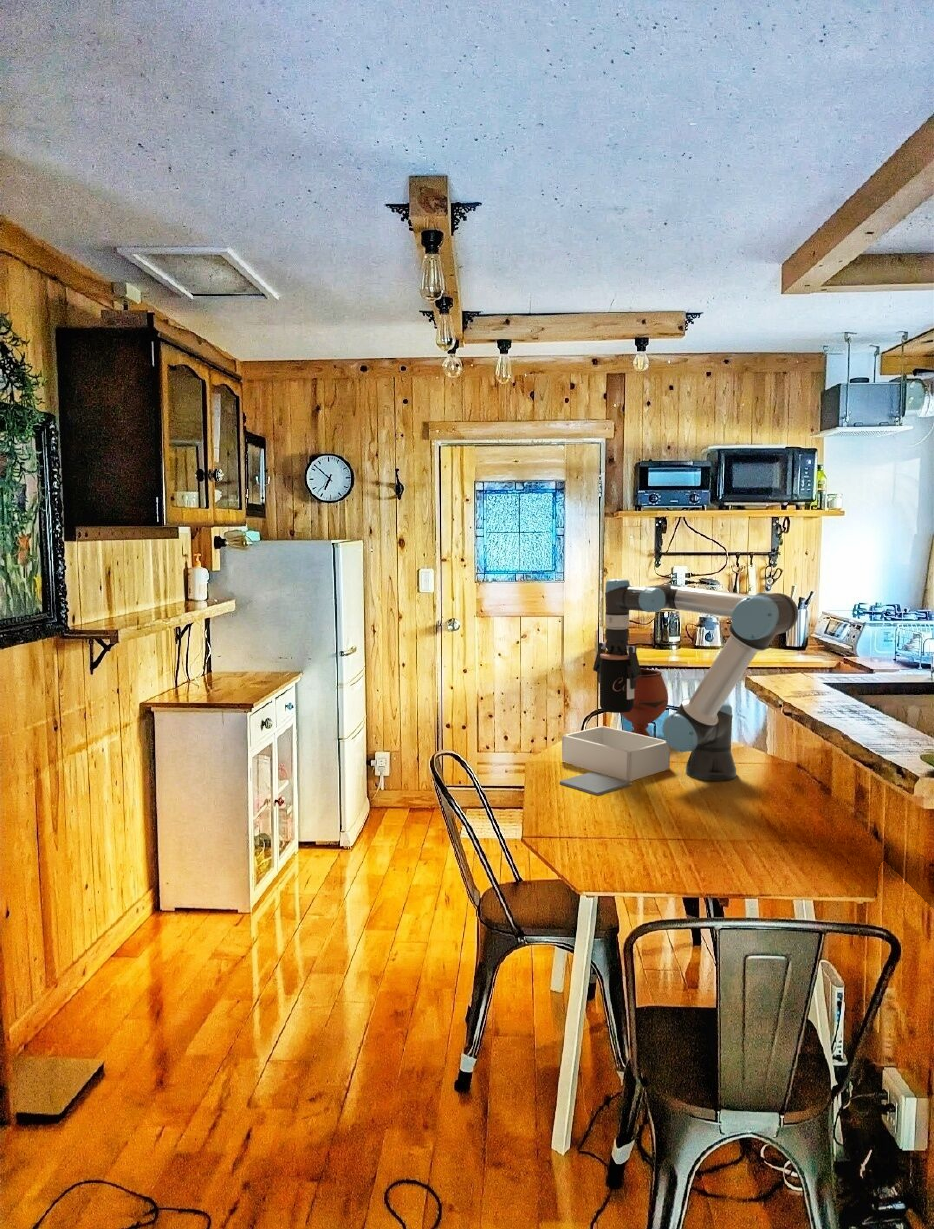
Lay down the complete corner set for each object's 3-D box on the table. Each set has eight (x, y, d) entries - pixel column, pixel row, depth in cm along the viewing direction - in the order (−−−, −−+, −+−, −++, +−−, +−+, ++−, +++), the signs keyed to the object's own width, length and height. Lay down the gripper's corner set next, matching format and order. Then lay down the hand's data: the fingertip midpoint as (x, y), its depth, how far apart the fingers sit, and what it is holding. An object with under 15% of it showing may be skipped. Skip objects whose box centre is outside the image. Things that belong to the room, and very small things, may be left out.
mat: (630, 785, 264) (630, 782, 263) (597, 795, 254) (597, 792, 254) (592, 774, 275) (592, 771, 275) (559, 783, 265) (559, 781, 265)
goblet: (676, 744, 310) (678, 674, 307) (625, 747, 306) (626, 677, 303) (653, 731, 329) (654, 665, 326) (605, 734, 325) (606, 667, 322)
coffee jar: (613, 714, 275) (613, 657, 273) (593, 708, 284) (593, 653, 282) (640, 711, 280) (640, 655, 278) (619, 705, 289) (620, 650, 287)
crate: (669, 769, 280) (670, 741, 279) (629, 781, 267) (629, 752, 266) (602, 751, 301) (602, 725, 300) (561, 762, 288) (562, 735, 287)
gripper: (581, 625, 285) (581, 692, 288) (638, 632, 268) (637, 703, 270) (597, 623, 290) (597, 689, 292) (653, 629, 273) (653, 699, 275)
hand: (616, 696), depth 281 cm, fingers closed on coffee jar, 11 cm apart
